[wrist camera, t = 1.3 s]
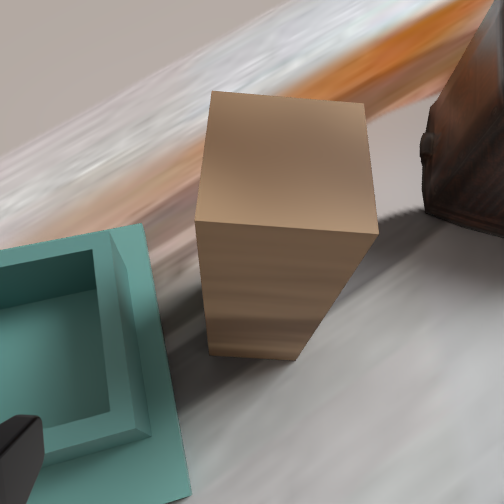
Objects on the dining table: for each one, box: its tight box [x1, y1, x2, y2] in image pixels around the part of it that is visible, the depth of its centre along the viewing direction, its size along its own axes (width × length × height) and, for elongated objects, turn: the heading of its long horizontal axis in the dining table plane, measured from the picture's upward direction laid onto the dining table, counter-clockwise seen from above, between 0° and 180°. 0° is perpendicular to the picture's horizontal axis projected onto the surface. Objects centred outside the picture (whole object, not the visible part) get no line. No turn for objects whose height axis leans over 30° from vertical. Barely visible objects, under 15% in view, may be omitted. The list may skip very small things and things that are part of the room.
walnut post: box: [195, 91, 379, 361], centre depth 17 cm, size 4×4×13 cm
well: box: [0, 223, 192, 504], centre depth 18 cm, size 14×11×5 cm
